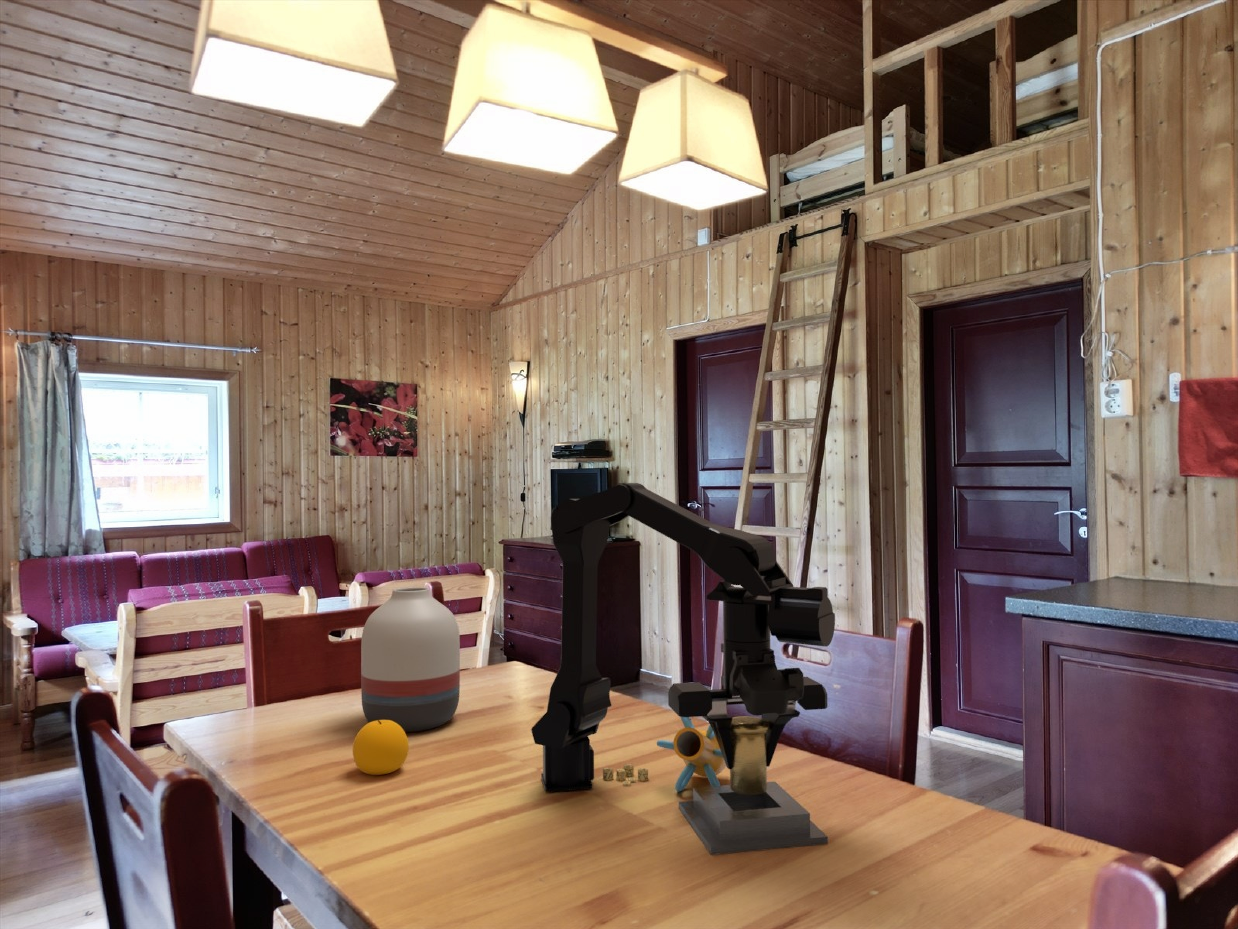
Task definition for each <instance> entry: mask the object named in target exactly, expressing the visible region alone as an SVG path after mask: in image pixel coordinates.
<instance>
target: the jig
mask: <svg viewBox="0 0 1238 929" xmlns="http://www.w3.org/2000/svg"><path fill="white" fill-rule="evenodd" d="M692 799H693V800H687V801H686V800H685V801H678V809H679V811H680V813H681V814H682V815H683V816H684V818H685V819H686V820H687V822H688V824H689V825H690V827H691V828H692V829H693V831H694V833H695V834H696V835H697V837H698V838H699V839H700V841H701V842H702V843H703V845H704V847H705V848H706V850H707V851H708V852H709V854H710V855H711V856H713V855H722V854H723V855H724V854H733V853H745V852H754V851H765V850H767V851H768V850H775V849H786V848H787V849H788V848H797V847H808V846H817V845H818V846H819V845H827V844H829V837H828V835H827V834H826V833H825V832H823V831H822V829H821V828H819V827H818V826H817V825H816V824H815V823H814V822H813V821H812V820H811V814H810V812H809V811H808V810H807V809H806V808H805V807H804V806H802V805H801V804H800V802H798V801H797V800H796V799H795V798H794V797H792V796H791V795H790V794H789V793H788V792H787V791H786V790H785V789H784V788H783V787H782V786H781V785H779V784H778V783H777V781H774V780H773V781H767V790H766V792H764V793H762V794H757V795H745V794H739V793H736V792H734V791H732V790H731V788H730V784H722V785H720V786H711V785H709V786H699V787H693V788H692Z"/></svg>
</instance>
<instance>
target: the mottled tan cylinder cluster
mask: <svg viewBox="0 0 1238 929" xmlns="http://www.w3.org/2000/svg"><path fill="white" fill-rule="evenodd" d="M622 767H623V768H618V769H615V770H616V778H615V780H616V781H620V782H623V783H622V786H623V787H631V784H632V783H636V782H637V780H638V781H640V782H647V781H649V769H647V768H639V769H637V780H636V777H634V776H635V772H634V770H635V769H634V768H635V767H634V764H630V763H628V764H624V765H623V766H622ZM627 778H628V779H627ZM602 779H603V781H604V780H605V781H612V780H614V768H612V767H604V768H603V769H602ZM626 779H627V780H626Z"/></svg>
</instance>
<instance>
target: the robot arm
mask: <svg viewBox="0 0 1238 929" xmlns="http://www.w3.org/2000/svg"><path fill="white" fill-rule="evenodd" d="M629 517H631V518H632V519H634V520H635V521H637V522H639V523H641V524H643V525H645V526H646V527H647V528H648V527H649V528H650V529H652V530H654V531H655V532H657V533H659V534H661V535H664V536H665V537H667V538H669V539H670V540H673V541H674V542H676V543H678V544H679V545H682V546H683V547H685V548H687V549H689V550H691V551H692V552H693V553H694V554H696V555H697V556H698V557H699V559H700V560H701V561H702V562H703V564H704V565H705V566H706V567H707V568H708V569H709V570H711V571H712V572H713V573H714V574H715V575H717V576H718V577H719V578H721V579H722V580H721V581H718V583H717V585H716V586H715V587H714V589H712V590H711V591H710V592H709V593H708V594H706V596H705V597H706V599H707V600H708V601H715V602H722V619H723V620H722V621H723V622H722V625H723V626H722V629H723V630H722V631H723V632H722V634H723V642H721V643H720V652H721V653H723V675H722V676H720V678H721V680H720V681H721V682H720V684H721V685H722V687H723V688H718V689H709V688H708V687H706V686H705V685H703V684H702V682H699V681H698V682H696V681H695V682H678V683H672V684H671V686H670V687H669V690H668V691H667V692H668V694H667V695H668V696H667V698H668V700H667V701H668V702H667V703H668V707H669V708H670V709H671V710H672V711H673V712H674V713H675V714H676V715H677V716H678V717H680V718H681V717H689V718H696V717H702V718H703V719H704V720H705V721H706V722H708V724H709V725H711V727H712V729H713V732H714V734H715V737H716V739H717V742H718V745H719V747H720V750H721V753H722V755H723V758H724V761H725V764H726V766H725V767H726V768H727V769H728V770H730V769H732V764H733V754H732V742H731V730H730V727H731V723H732V719H733V717H732V716H731V715H730V714H729V713H728V710H727V709H728V707H727V706H731V705H733V706H734V705H744V707H745V710H746V711H747V713H748V714H749V715H752V716H755V717H759V716H761V718H762V719H765V720H767V721H769V732H767V733H766V761H767V767H770V765H771V763H772V760H773V758H774V756H775V755H774V754H775V751H776V748H777V746H778V743H779V740H780V737H781V735H782V733H783V731H784V728H785V726H786V725H787V724H788V723H789V722H790V721H791V720H792V719H794V718H798V717H800V715H801V712H800V711H799V710H797V708H796V705H797V704H798V706H800V707H801V708H802V709H803V710H805V711H813V710H826V709H827V708H828V692H827V689H826V687H825V686H824V685H823V684H822V683H820V682H818V681H817V680H815V679H812V678H810V677H809V676H804V672H803V671H802V670H801V669H800V667H788V668H787V667H786V668H782V669H781V668H780V669H778V667H777V665H776V656H775V650H774V649H772V648H771V636H772V637H775V639H776V640H777V641H778V642H779V643H786V644H797V645H804V646H805V645H806V646H817V647H827V648H828V646H830V644H831V643H832V641H833V637H834V634H835V627H836V614H835V612H834V611H833V610H834V609H833V605H832V602H831V600H830V598H829V597H828V596H829V590H828V588H827V587H826V586H814V587H802V586H799V587H798V586H794V585H793V583H792V581H791V580H790V578H789V576H787V574H786V573H785V571H784V570H783V568H782V567H781V565H780V564H779V562H778V561H777V559H776V553H775V550H774V546H773V544H772V543H771V542H770V541H769V540H768V539H767V538H765V537H763V536H761V535H758V534H754V533H752V532H747V531H744V530H741V529H737V528H731V527H727V526H723V525H718V524H716V523H714V522H711V521H709V520H707V519H705V518H704V517H702V516H699V515H697V514H696V513H694V512H692V511H690V510H688V509H686V508H685V507H682V506H681V505H678V504H677V503H675V502H673V501H671V500H669V499H667V498H665V497H663V496H661V495H659V494H657V493H655V492H654V491H651V490H650V489H647V487H646V486H644V485H643V484H642V483H639V482H621V483H617V484H615V485H614V486H612V487H610V488H607V489H605V490H603V491H599V492H595V493H593V494H589V495H587V496H584V497H581V498H566V499H563V500H560V501H559V502H558V503H557V505H556V506H555V507H553V508H552V511H551V513H550V526H551V527H550V528H551V535H552V543H553V546H554V547H555V550H556V552H557V554H558V556H559V558H560V560H561V564H562V578H561V579H562V586H561V593H562V594H561V634H560V638H561V642H560V643H561V644H560V645H561V646H560V647H561V648H560V649H561V650H560V652H561V653H560V665H559V666H560V667H559V669H558V671H557V673H556V675H555V677H554V680H553V682H552V684H551V686H550V689H549V695H548V702H547V708H546V709H547V710H546V712H545V713H544V714H543V715H542V716H541V717H540V718H539V719H538V721H537V722H536V723H535V724H534V725H533V726H532V727H531V729H530V730H531V731H530V732H531V734H532V737H533V741H534V744H536V745H540V746H542V773H541V775H540V776H541V777H540V778H541V781H542V785H543V788H544V791H545V792H547V793H552V792H564V791H579V790H590V789H591V790H592V789H593V786H594V785H593V782H592V781H593V780H594V779H595V751H594V749H593V746H592V745H591V743H590V741H591V740H590V738H589V737H590V736H591V735H596V734H597V732H598V729H599V726H600V723H601V722H602V721H603V720H604V719H605V718H606V716H607V714H608V708H610V707H612V702H611V697H610V695H611V694H610V691H611V686H612V681H611V678H610V677H602V674H601V673H600V671H599V669H598V666H597V629H598V628H597V625H598V622H597V620H598V619H597V614H598V572H599V571H598V569H599V565H598V564H599V561H600V559H601V557H602V555H603V552H604V550H605V548H606V547H607V544H608V540H609V534H610V529H611V526H613V525H615V524H618V523H621V522H623V521H624V520H625V519H627V518H629ZM736 586H737V587H736ZM738 586H739V587H738Z"/></svg>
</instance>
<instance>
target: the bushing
mask: <svg viewBox="0 0 1238 929" xmlns="http://www.w3.org/2000/svg"><path fill="white" fill-rule="evenodd" d="M732 718H733V719H732V723H731V727H730V730H731V742H732V754H733V764H732V769H729V775H730V776H729V778H730V780H729V782H730V783H729V785H730V788H731V790H732V791H734V792H736V793H739V794H745V795H757V794H762V793H764V792H766V790H767V782H768V780H767V778H768V776H767V775H768V774H767V771H768V770H767V761H766V733H767V732H769V721H767V720H765V719H762V717H759V716H744V715H743V716H734V717H732Z"/></svg>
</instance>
